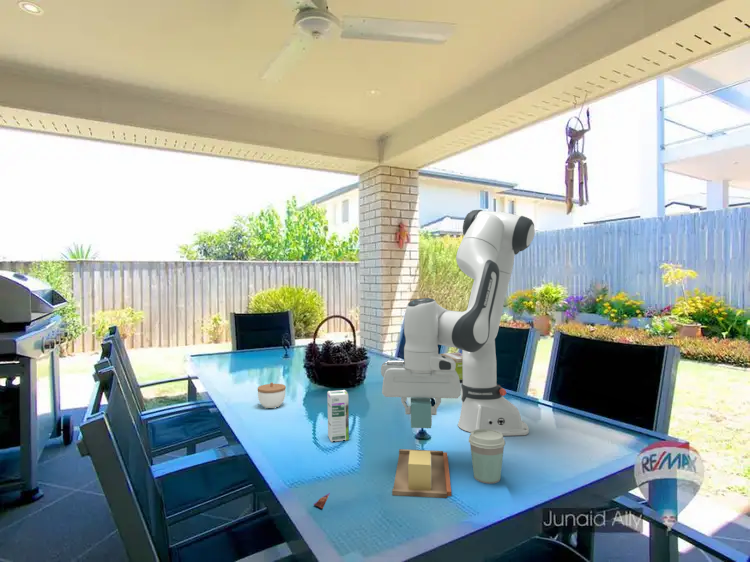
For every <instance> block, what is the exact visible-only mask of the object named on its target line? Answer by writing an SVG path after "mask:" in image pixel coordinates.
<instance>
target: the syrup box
mask: <svg viewBox="0 0 750 562" xmlns="http://www.w3.org/2000/svg"><path fill="white" fill-rule="evenodd" d="M326 395H327V397H326V398H327V436H328V438H329V440H330V443H334V442H333V441H335V442H342V441H343V440H345V441H349V440H350V429H349V427H350V426H349V425H350V423H349V421H350V419H349V418H350V417H349V412H350V411H349V409H350V408H349V406H350V405H349V393H348V391H347V390H345V389H343V390H328V391H327V393H326Z"/></svg>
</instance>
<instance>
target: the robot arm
mask: <svg viewBox="0 0 750 562" xmlns="http://www.w3.org/2000/svg"><path fill="white" fill-rule="evenodd" d="M535 234H536V231H535V223H534V221H533V220H532V218H528V217H527V216H524V215H517V214H514V213H509V212H506V211H505V212H504V211H495V210H494V211H493V210H492V211H491V210H482V209H474V210H473V209H472V210H471V211H470V212H469V213H467V214H466V216H465V218H464V220H463V225H462V235H463V238H462V240H461V241H460V244H459V245H458V249H457V252H456V256H455V260H456V264H457V266H458V268H459V270H461V272H462V273H464V275H466V276H468V277H469V278H470V279H472V280H473V282H472V285H471V286H472V287H471V291H470V296H469V299H468V304H467V309H466V310H463V311H460V310H458V311H457V310H449V309H447V308H445V307H442V306H441V305H440V304H438V303H437V301H436V299H434V298H431V297H424V298H416V299H413V300H412V299H411V301H409V302H408V303H407V305H406V308H405V311H404V320H403V321H404V324H403V326H404V327H403V331H404V333H403V334H404V337H405V344H404V347H403V357H404V358H403V360H391V359H389V360H387V361H386V362H385V361H384V362H383V363H382V365H381V366H380V373H381V376H382V378H383V380H382V389H381V394H382V395H383V396H384V397H385V398H401V399H400V400H401V404H402V406H403V408H405V410H404V411H405V412H404V414H405V415H411V405H409V404H407V400H408V399H407V398H411V397H412V398H430V399H434V402H435V404H434V405H433V406H432V416H437V413H438V412H437V410H438V408H439V407H440V405H441V403H442V399H459V397H460V398H461V409H460V414H459V419H458V420H459V421H458V423H457V426H458V428H459V429H461V430H463V431H465V432H469V433H471V432H472V431H473V430H477V429H491V430H495V431H498V432H500V433H501V434H502V435H503V437H505V436H506V437H508V436H509V437H510V436H511V437H512V436H527V435H528V434H529V432H530V429H529V427H528V424H527V423H526V422H525V421H524V420H522V416H521V414H520V411H519V409H518V408H517V406H516V405H514V404H513V403H512V402H511V401H509V400H508V399H507V398H505V397H504V396H506V395H507V391H506V389H505V388H503V387H502V386H501V385H500V384H498V383H497V381H498V380H497V355H496V352H497V351H496V338H497V336H498V332H499V328H500V324H501V321H502V315H503V309H504V304H505V299H506V295H507V291H508V287H509V283H510V279H511V276H512V273H513V269H514V264H515V262H514V261H515V255H518V254H519V253H520V252H523V251H524V250H526V249H528V248H529V247H530V245H531V243H532V242H533V240H534V238H535ZM439 345H440V346H444V347H448V348H449V347H450V348H454V349H459V350H461V353H462V360H463V383H462V384H461V388H460V380H459V376H458V374H457V372H456V371H455V368H456V363H455V361H454V360H453V359H452V358H449V357H446V356H443V355H440V354H441V353H439V347H438V346H439Z"/></svg>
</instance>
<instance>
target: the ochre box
mask: <svg viewBox="0 0 750 562" xmlns="http://www.w3.org/2000/svg"><path fill="white" fill-rule="evenodd" d="M409 450H410V453H409V463H408V485H409V490H425V491H431V454H430V451H415V450H416V449H409Z"/></svg>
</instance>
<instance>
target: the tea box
mask: <svg viewBox="0 0 750 562" xmlns="http://www.w3.org/2000/svg"><path fill="white" fill-rule="evenodd" d="M439 354H440V355H443V356H446V357H449V358H452V359H453V360H454V361H455V363H456V368H455V371H456V372H457V374H458V376H459V380H460V388H461V384H462V383H463V360H462V352H459V351H457V352H446V353H439Z"/></svg>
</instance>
